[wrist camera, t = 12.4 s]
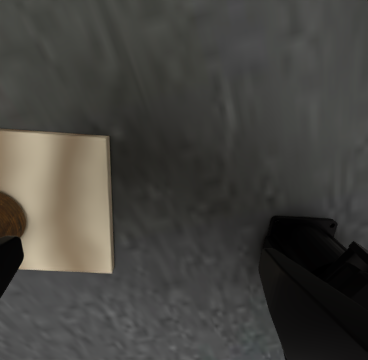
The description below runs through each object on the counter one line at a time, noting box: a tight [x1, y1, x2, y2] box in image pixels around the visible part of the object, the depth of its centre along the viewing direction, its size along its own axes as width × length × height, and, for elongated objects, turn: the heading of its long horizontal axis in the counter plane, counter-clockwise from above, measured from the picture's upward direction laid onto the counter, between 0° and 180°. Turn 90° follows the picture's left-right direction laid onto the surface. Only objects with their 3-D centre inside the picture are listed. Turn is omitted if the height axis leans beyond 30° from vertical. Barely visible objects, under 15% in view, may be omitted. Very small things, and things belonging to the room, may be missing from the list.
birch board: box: [0, 129, 114, 273], centre depth 21 cm, size 20×14×1 cm
